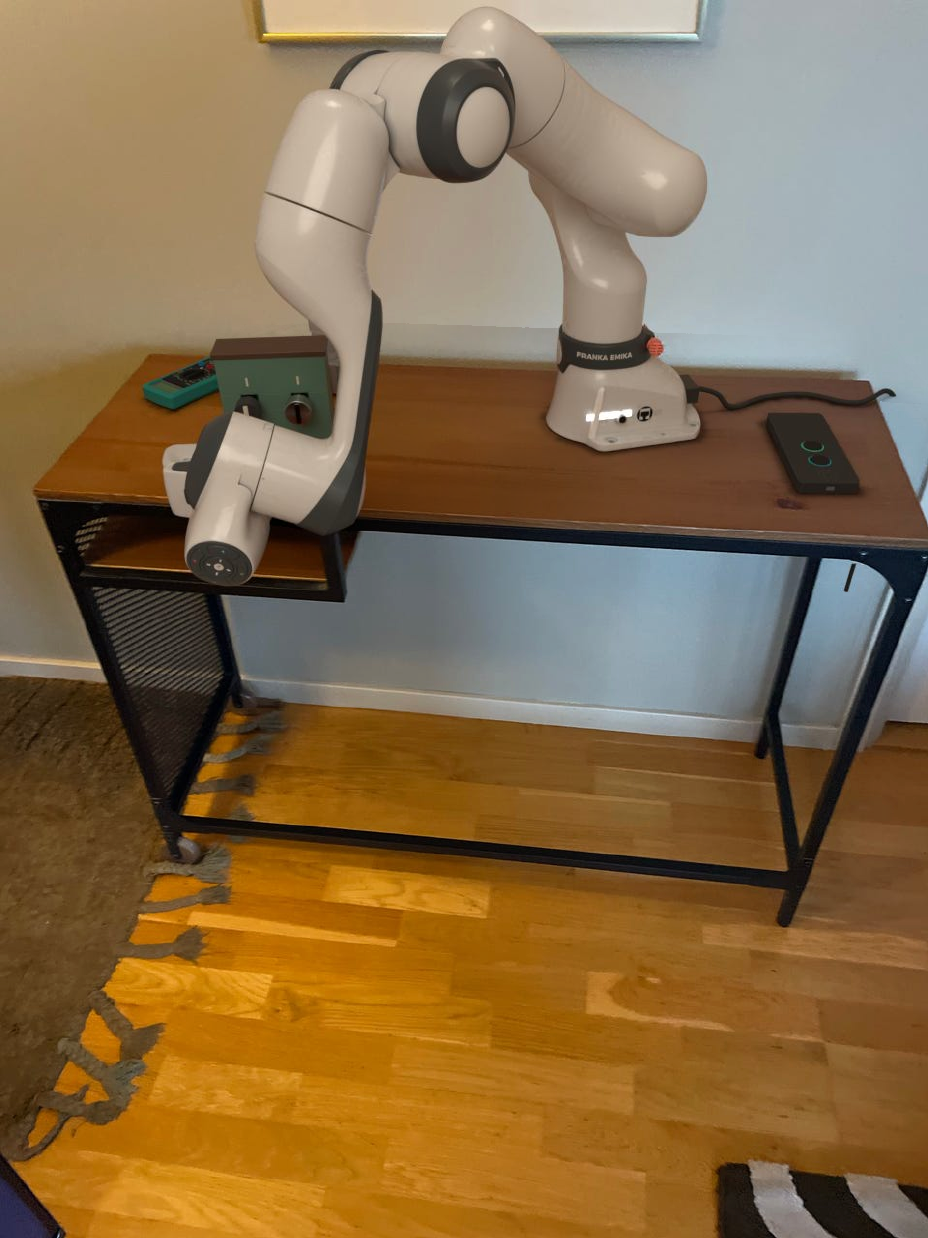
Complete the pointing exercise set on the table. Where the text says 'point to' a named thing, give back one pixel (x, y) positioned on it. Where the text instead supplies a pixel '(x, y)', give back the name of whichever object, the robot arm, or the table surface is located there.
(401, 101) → the robot arm
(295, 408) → the steel knob
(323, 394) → the console
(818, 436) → the smart home device
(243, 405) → the black knob
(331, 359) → the camera
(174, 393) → the digital multimeter
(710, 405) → the table surface
